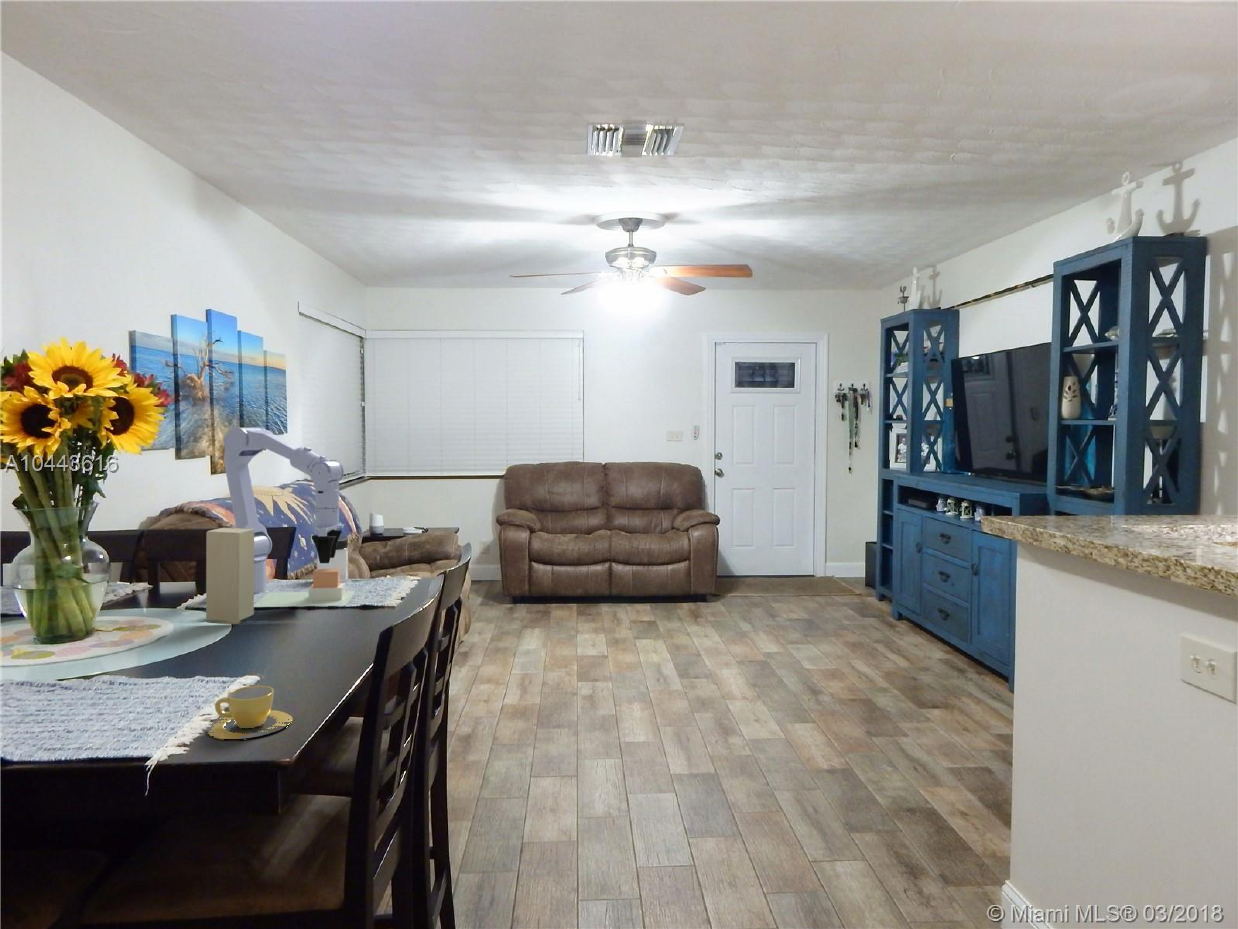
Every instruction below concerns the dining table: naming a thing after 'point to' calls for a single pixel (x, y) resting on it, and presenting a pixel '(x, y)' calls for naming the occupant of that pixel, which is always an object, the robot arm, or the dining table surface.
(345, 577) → the jar
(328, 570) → the top brick
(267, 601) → the baseplate
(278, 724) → the cup
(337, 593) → the base brick
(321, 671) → the dining table surface
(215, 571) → the beige tall rectangular block
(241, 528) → the robot arm
